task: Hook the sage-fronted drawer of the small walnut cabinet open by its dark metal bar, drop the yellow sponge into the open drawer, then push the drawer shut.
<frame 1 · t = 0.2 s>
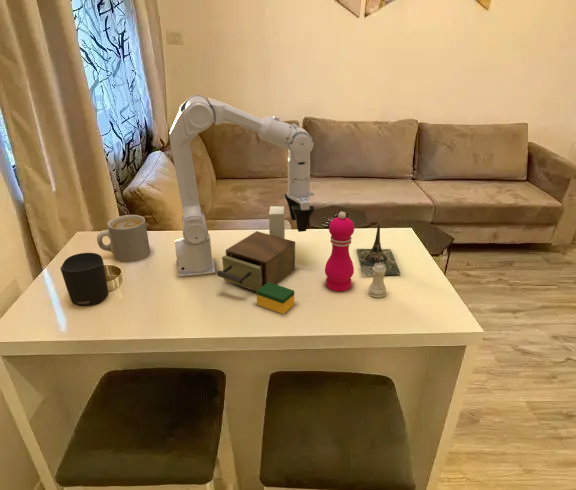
hand: (298, 225, 130), 10 cm above the counter, tool pointing down, fingers open, 7 cm apart
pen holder: (90, 298, 118), on the counter
rook chess piece: (376, 294, 119), on the counter
pepper mill: (338, 285, 122), on the counter
cosmetic box: (277, 248, 141), on the counter
coffee mug: (126, 254, 138), on the counter
eiffel tower figurine: (377, 263, 133), on the counter
drawer: (249, 268, 122), point 4 cm above the counter, slide at 1.0 cm
cabinet: (262, 274, 128), on the counter
sponge: (275, 304, 115), on the counter
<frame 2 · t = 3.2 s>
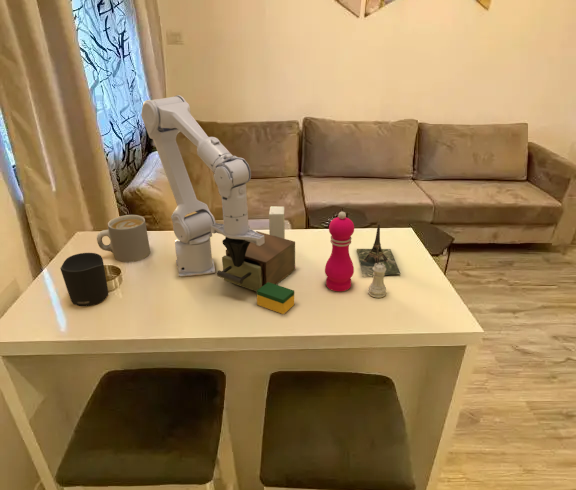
hand: (239, 265, 117), 7 cm above the counter, tool pointing down, fingers closed, pressing on drawer
drawer: (249, 268, 122), point 4 cm above the counter, slide at 1.1 cm, touching gripper
everything else where it was.
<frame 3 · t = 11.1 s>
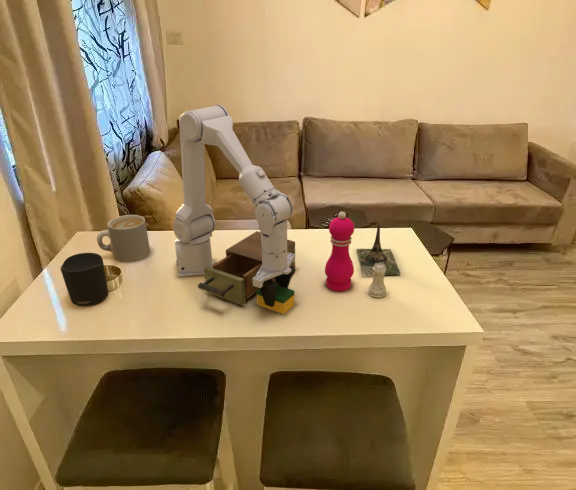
hand: (275, 299, 114), 1 cm above the counter, tool pointing down, fingers closed on sponge, 5 cm apart
drawer: (233, 279, 117), point 4 cm above the counter, slide at 7.8 cm
sponge: (275, 304, 115), on the counter, touching gripper
everything else where it was.
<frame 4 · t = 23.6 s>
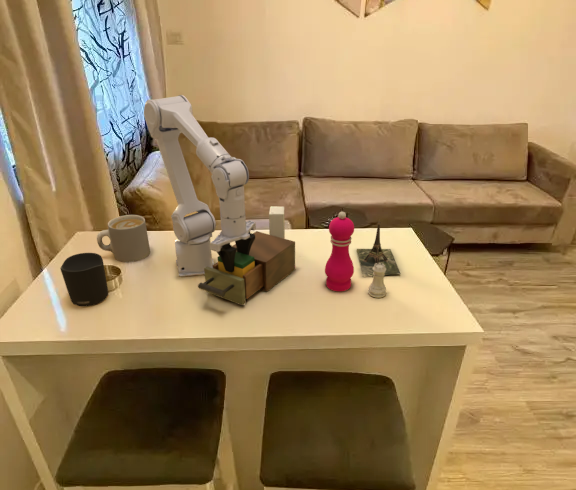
hand: (236, 266, 117), 7 cm above the counter, tool pointing down, fingers closed on sponge, 5 cm apart
sponge: (236, 271, 117), point 6 cm above the counter, touching gripper
everything else where it was.
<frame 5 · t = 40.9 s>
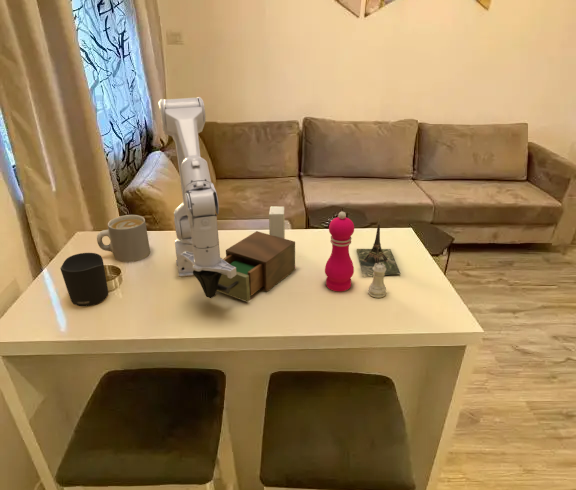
hand: (211, 295, 111), 4 cm above the counter, tool pointing down, fingers closed, pressing on drawer
drawer: (237, 276, 118), point 4 cm above the counter, slide at 6.0 cm, touching gripper, sponge
sponge: (242, 281, 120), point 2 cm above the counter, touching drawer
everything else where it was.
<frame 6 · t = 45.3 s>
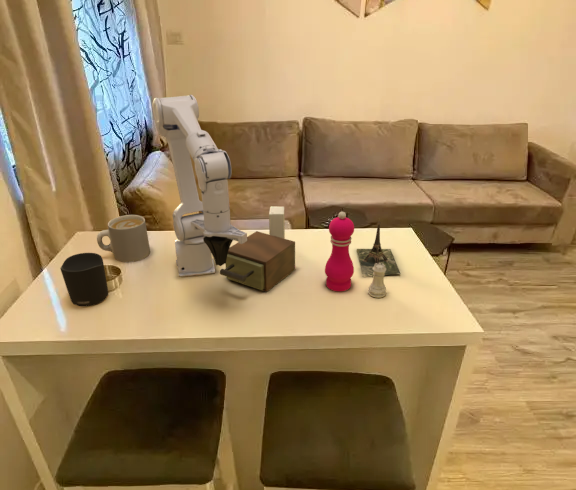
hand: (221, 263, 111), 10 cm above the counter, tool pointing down, fingers closed
drawer: (252, 266, 122), point 4 cm above the counter, slide at 0.0 cm, touching cabinet, sponge
sponge: (256, 271, 125), point 2 cm above the counter, touching drawer
everything else where it was.
at the end: drawer pulled out 7.9 cm at the most during the clip, back to where it started at the end; sponge inside the target area in the cabinet (2.4 cm from its centre), point 1.9 cm above the cabinet's base; drawer slide at 0.0 cm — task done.
